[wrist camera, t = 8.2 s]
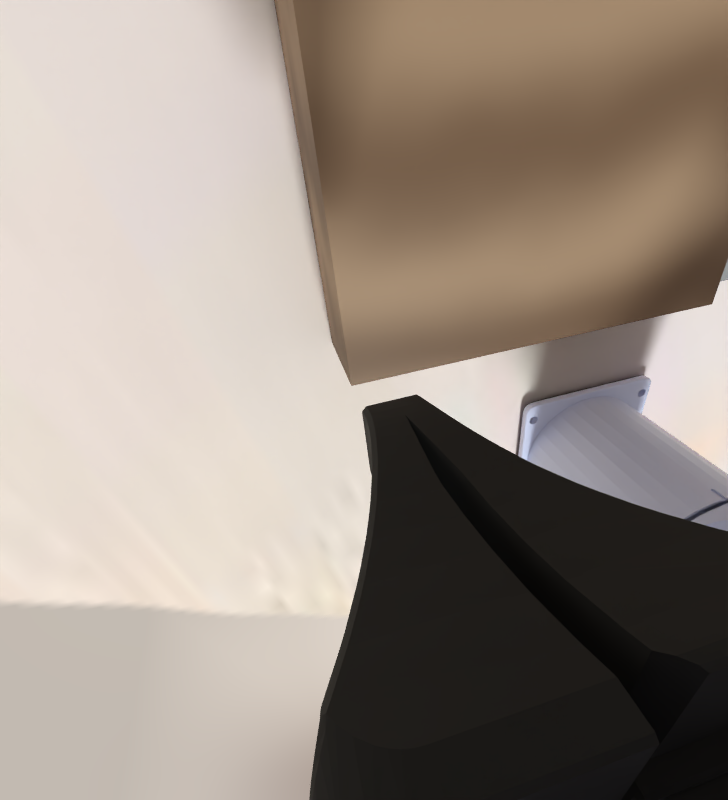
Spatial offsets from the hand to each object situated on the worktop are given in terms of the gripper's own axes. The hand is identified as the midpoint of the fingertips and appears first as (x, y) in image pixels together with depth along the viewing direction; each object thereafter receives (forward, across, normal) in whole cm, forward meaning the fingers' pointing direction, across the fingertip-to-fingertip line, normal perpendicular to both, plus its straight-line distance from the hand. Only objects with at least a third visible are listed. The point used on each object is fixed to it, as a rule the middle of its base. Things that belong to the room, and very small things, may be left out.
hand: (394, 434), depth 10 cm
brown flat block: (+10, -8, -5) cm, 14 cm away
